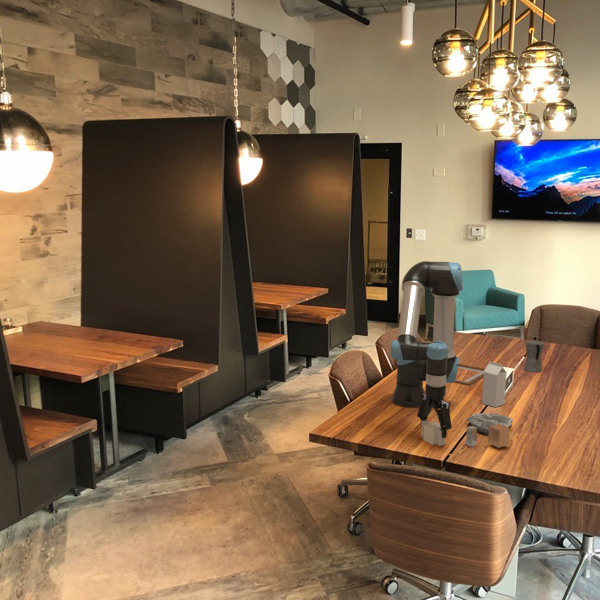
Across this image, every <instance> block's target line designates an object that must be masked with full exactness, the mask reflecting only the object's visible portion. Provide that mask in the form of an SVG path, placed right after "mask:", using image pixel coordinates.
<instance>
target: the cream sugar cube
mask: <svg viewBox="0 0 600 600" xmlns="http://www.w3.org/2000/svg"><path fill="white" fill-rule="evenodd" d="M439 429H441V427H440V423H439V422H436V421H432V422H428V423H427V424H424V436H423V440H422V441H423V442H426V443H427V444H430V445H431V446H434V445H439Z"/></svg>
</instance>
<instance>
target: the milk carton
mask: <svg viewBox="0 0 600 600" xmlns="http://www.w3.org/2000/svg"><path fill="white" fill-rule="evenodd" d="M482 379H483V380H482V393H481V394H482V395H481V404H483V405H486V406H489V407H491V408H497V407H500V406H503V405H505V400H506V388H507V387H506V386H507V371H506V369H505V368H504V366H503V364H501V363H497V362H493V361H488V364H487V365H486V367H485V370H484V376H483V378H482Z"/></svg>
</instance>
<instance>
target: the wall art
mask: <svg viewBox="0 0 600 600" xmlns="http://www.w3.org/2000/svg"><path fill="white" fill-rule="evenodd" d="M458 369H461V370H467V371H472V372H478V373H476V374H475V375H473V376H471V377H469V378H467V379H465V380H459V379H455V381H454V382H453V383H454V384H459V385H462V386H464V385H465V386H468V387H471V386H472V385H474V384H475V383H477V382H478V381H480V380H482V379H483V376H484V370H485V369H486V367H485V368H483V367H478V366H473V365H467V364H463V363H459V364H458ZM453 383H452V384H453Z"/></svg>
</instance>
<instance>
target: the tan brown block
mask: <svg viewBox="0 0 600 600" xmlns="http://www.w3.org/2000/svg"><path fill="white" fill-rule="evenodd" d="M510 430H511V427H510V428H508V427H506V426H503V425H501V424H496V425H492V426H489V435H488V440H487V441H488V442H487V443H488V444H490V445H492V446H493V447H495V448H497V449H500V448H504V447H505V446H509V442H510Z"/></svg>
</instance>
